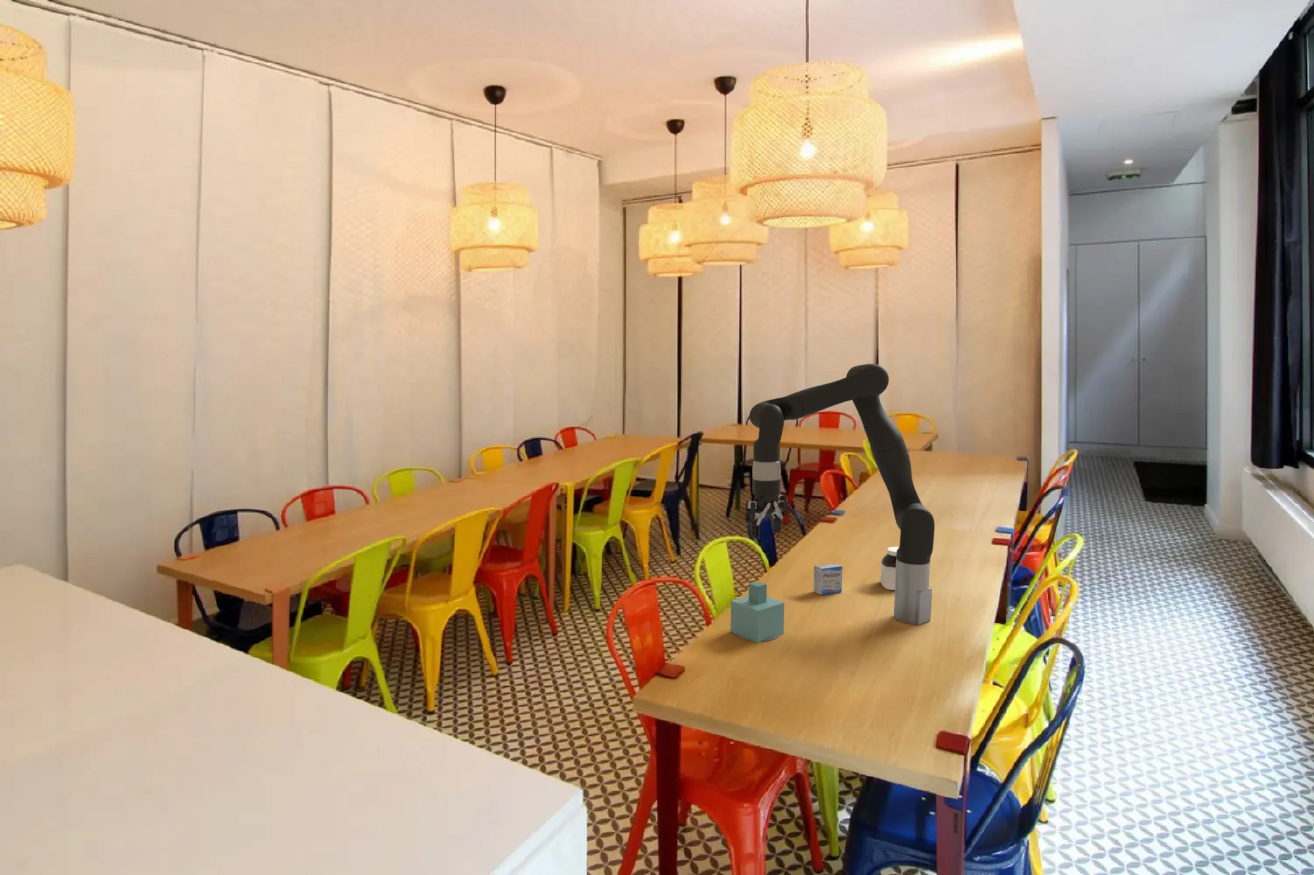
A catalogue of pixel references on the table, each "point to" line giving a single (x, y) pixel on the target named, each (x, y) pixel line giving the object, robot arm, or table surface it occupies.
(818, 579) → the medicine box
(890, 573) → the spread jar
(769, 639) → the spot
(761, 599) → the teal cube with peg
